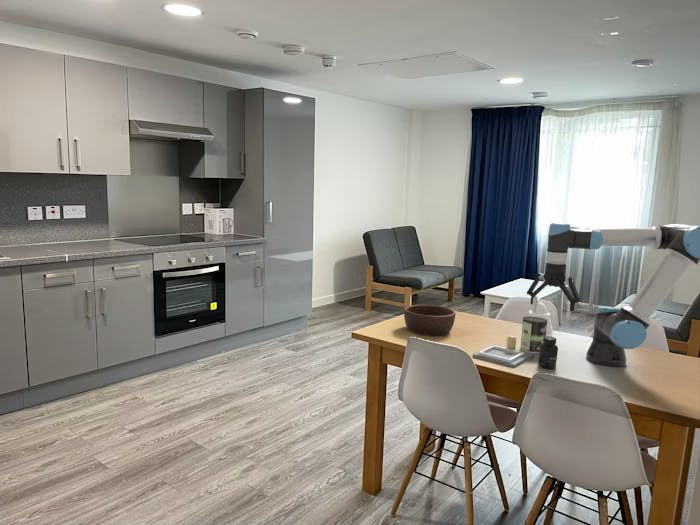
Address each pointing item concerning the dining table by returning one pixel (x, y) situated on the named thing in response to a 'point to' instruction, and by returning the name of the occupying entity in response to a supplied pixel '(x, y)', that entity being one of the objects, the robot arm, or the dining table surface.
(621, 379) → the dining table surface
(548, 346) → the supplement bottle
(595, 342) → the robot arm
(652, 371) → the dining table surface
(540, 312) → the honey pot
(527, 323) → the coffee can
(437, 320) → the wooden bowl
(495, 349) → the board
